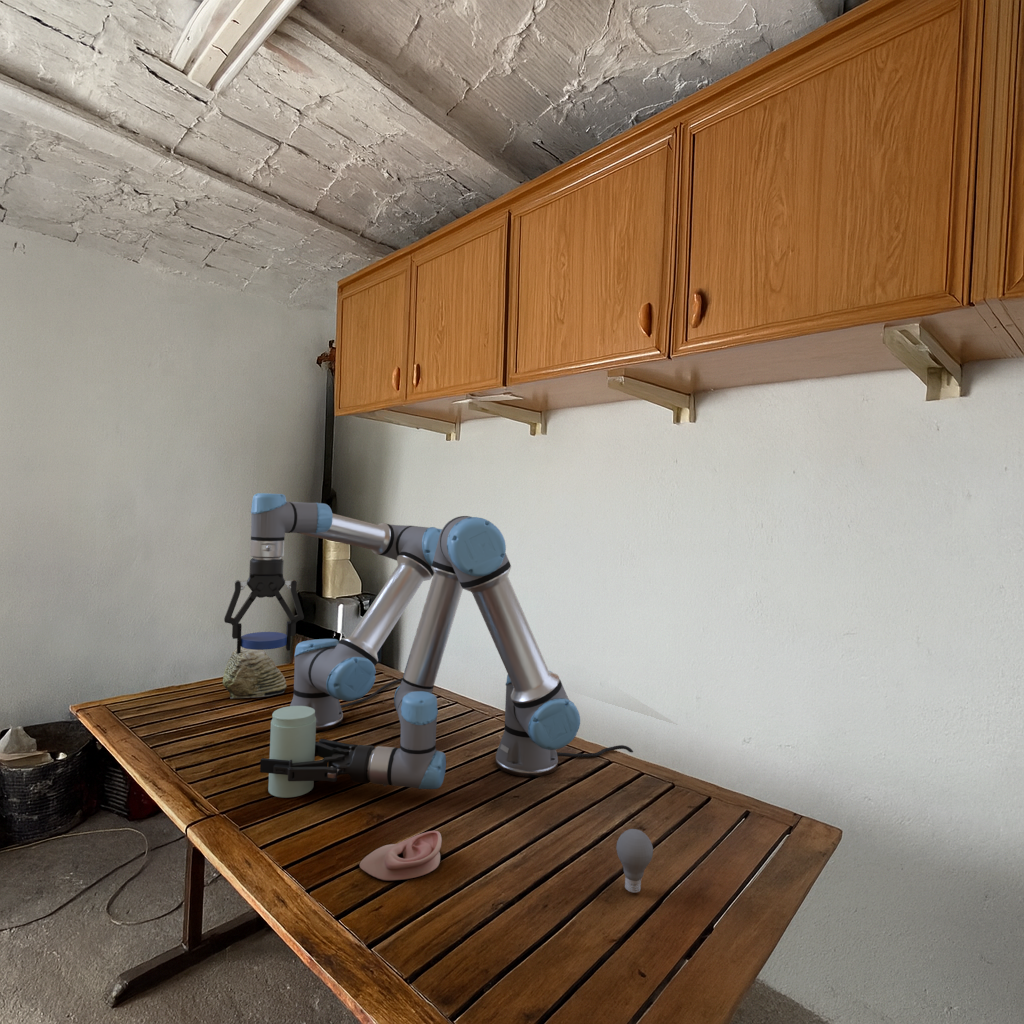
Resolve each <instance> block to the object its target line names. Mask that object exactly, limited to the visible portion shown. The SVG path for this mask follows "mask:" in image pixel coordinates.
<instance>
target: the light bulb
mask: <svg viewBox="0 0 1024 1024" xmlns="http://www.w3.org/2000/svg"><path fill="white" fill-rule="evenodd" d="M615 849H616V854H617V857H618V859H619V861H620V863H621V865H622V867H623V873H624V874H623V875H624V876H625V878H624V888H625V890H627V891H628V892H630V893H634V894H635V893H639V892H640V891H641V889H642V887H641V886H642V879H643V877H644V875H645V871H646V868H647V867H648V866H649V864H650V863H651V861H652V859H653V855H654V847H653V843H652V841H651V838H649V836H648V835H647V834H646V833H645V832H643V831H642V830H641V829H636V828H629V829H627V830H625V831H623V832H622V833H621V834H620V835H619V837H618V839H617V841H616V847H615Z"/></svg>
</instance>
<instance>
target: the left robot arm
mask: <svg viewBox="0 0 1024 1024" xmlns="http://www.w3.org/2000/svg"><path fill="white" fill-rule="evenodd" d="M286 496H287V495H285V494H283V493H267V492H265V493H264V492H257V493H255V494H254V495H253V496H252V501H251V510H250V514H251V516H250V517H251V518H250V530H251V531H250V545H249V547H250V548H249V556H250V557H251V559H250V560H249V575H248V578H247V579H246V580H239V579H236V580H235V581H234V591H233V594H232V597H231V599H230V601H229V604H228V606H227V609H226V612H225V615H224V617H223V620H224V623H225V624H230V625H231V626H232V627H231V629H232V631H231V637H232V639H233V640H234V639H236V640H237V641H236V649H237V654H238V653H241V636H242V626H243V625H242V623H240V622H241V620H242V619H243V618H244V616H245V615H246V613H247V611H248V610H249V608H250V607H251V606H252V604H253V602H254V601H255V600H256V598H260V599H263V598H274V597H275V598H276V600H277V601H278V603H279V604H280V606H281V607H282V609H283V611H284V612H285V614H286V616H287V617H288V619H289V621H286V633H285V634H286V635H287V644H286V645H285V649H286V651H287V652H289V651H291V642H292V641H291V640H292V637H294V636H296V634H297V623H298V622H299V621H303V620H304V619H305V615H304V612H303V608H302V605H301V601H300V597H299V595H298V591H297V585H298V581H297V580H296V579H285V578H284V565H285V564H284V563H285V561H284V559H283V557H284V556H285V536H286V534H290V533H291V534H299V535H304V536H308V537H314V538H317V539H318V538H319V539H322V540H327V541H331V542H335V543H340V544H344V545H349V546H353V547H354V546H355V547H358V548H362V549H367V550H371V552H372V553H373V554H375V555H377V556H378V555H379V556H382V557H386V558H389V559H392V560H393V561H396V562H397V566H396V567H395V568H394V570H393V572H392V573H391V575H390V576H389V578H388V579H387V581H386V582H385V583H384V585H383V586H382V588H381V590H380V591H379V592H378V594H377V596H376V597H375V599H374V600H373V602H371V605H370V606H369V607H368V609H367V610H366V612H365V613H364V615H363V617H361V619H360V620H359V622H358V624H357V625H356V626H355V628H354V630H353V631H352V632H351V634H350V635H349V636H345V637H342V638H341V639H340V640H338V639H337V638H319V639H308V640H303V641H300V642H299V643H298V642H297V644H296V646H295V650H294V655H293V657H294V672H293V695H292V696H293V697H292V699H291V702H290V704H289V706H307V707H311V708H313V709H314V710H315V717H316V733H317V732H325V731H329V730H332V729H335V728H337V727H339V726H340V725H342V723H343V722H344V713H343V709H344V708H346V707H348V708H349V707H351V706H353V705H357V704H360V703H363V702H366V701H368V700H370V699H372V698H373V697H375V696H376V695H377V694H379V693H380V692H381V691H384V689H386V688H388V687H389V686H392V685H394V684H396V683H399V682H400V683H401V681H402V679H403V677H401V678H398V679H395V680H393V681H390V682H388V683H385V684H384V685H383V686H381V687H380V688H378V689H377V690H376V691H374V692H373V693H371V694H370V695H368V696H366V695H367V694H368V693H369V692H370V691H371V689H372V688H373V686H374V685H375V682H376V678H377V677H376V674H377V670H376V666H377V664H378V663H379V658H378V652H379V651H380V649H381V647H382V646H383V645H384V643H385V642H386V640H387V638H388V637H389V635H390V634H391V632H392V630H394V628H395V626H396V625H397V623H398V621H399V620H400V618H401V617H402V615H403V614H404V612H405V611H406V609H407V607H408V606H409V604H410V602H412V599H413V598H414V596H415V595H416V593H417V592H418V590H420V589H419V588H420V587H421V586H422V584H423V583H424V582H426V581H430V580H432V578H433V575H434V571H433V569H432V568H431V566H432V563H433V559H434V556H435V552H436V547H437V543H438V539H439V535H440V533H441V530H442V529H443V528H437V527H435V526H418V525H404V524H403V525H402V524H401V525H400V524H391V523H386V522H381V523H378V524H376V523H373V522H372V523H371V522H368V521H365V520H361V519H356V518H352V517H349V516H346V515H345V516H344V515H340V514H337V513H333V511H332V508H331V507H330V505H328V504H327V503H323V502H305V501H303V502H301V501H287V497H286ZM285 586H286V587H287V589H288V590H289V591H290V594H291V599H292V601H293V605H294V608H295V611H296V614H294V613H293V612H292V610H291V609H290V607H289V605H288V603H287V602H286V601H285V599H284V596H282V594H281V592H280V591H281V590H282V588H283V587H285ZM246 587H248V588H249V590H250V591H251V592H250V593H249V595H248V597H247V598H246V600H245V601H244V603H243V604H242V605H241V607H240V608H239V610H238V611H237V613H236V614H235V616H234V617H233V614H234V612H235V609H236V606H237V603H238V600H239V597H240V594H241V591H243V590H244V589H245V588H246ZM364 696H365V697H364ZM340 701H344V702H348V703H344V704H341V702H340ZM342 708H343V709H342Z"/></svg>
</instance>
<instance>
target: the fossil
mask: <svg viewBox="0 0 1024 1024" xmlns="http://www.w3.org/2000/svg"><path fill="white" fill-rule="evenodd" d="M222 676H223V677H222V685H223V687H224V688H225V690H226V691H228V693H229V698H230V699H250V698H264V697H271V696H275V695H281V694H284V693H285V691H286V689H287V687H288V686H287V680H286V678H285V676H284V674H283V673H282V672H281V669H279V668H278V667H277V665H276V663H275V662H274V660H273V659H272V658H271V657H270V656H269V655H268V654H267V653H266V652H265V650H253V649H246V648H243V647H241V653H238V654H237V648H236V649H235V650H233V651H232V653H231V656H230V657H229V659H228V660H227V663H226V666H225V668H224V671H223V675H222Z"/></svg>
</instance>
